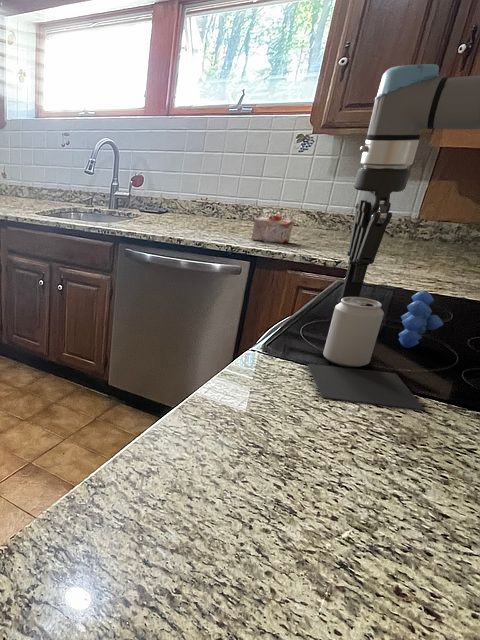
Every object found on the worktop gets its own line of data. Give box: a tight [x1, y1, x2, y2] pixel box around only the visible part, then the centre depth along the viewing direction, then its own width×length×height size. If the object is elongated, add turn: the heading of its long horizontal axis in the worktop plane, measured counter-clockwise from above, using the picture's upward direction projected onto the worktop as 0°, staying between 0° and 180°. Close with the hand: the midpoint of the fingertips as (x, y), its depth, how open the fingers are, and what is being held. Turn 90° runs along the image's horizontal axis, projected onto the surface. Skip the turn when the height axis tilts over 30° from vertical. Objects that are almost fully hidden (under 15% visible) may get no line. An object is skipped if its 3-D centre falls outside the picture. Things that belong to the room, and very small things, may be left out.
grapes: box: [398, 290, 444, 349], centre depth 102 cm, size 12×7×12 cm, turn 136°
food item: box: [251, 214, 295, 244], centre depth 201 cm, size 14×8×10 cm, turn 41°
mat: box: [306, 363, 426, 412], centre depth 89 cm, size 14×14×1 cm
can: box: [322, 296, 385, 368], centre depth 96 cm, size 8×8×12 cm
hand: (349, 296), depth 101 cm, fingers closed
